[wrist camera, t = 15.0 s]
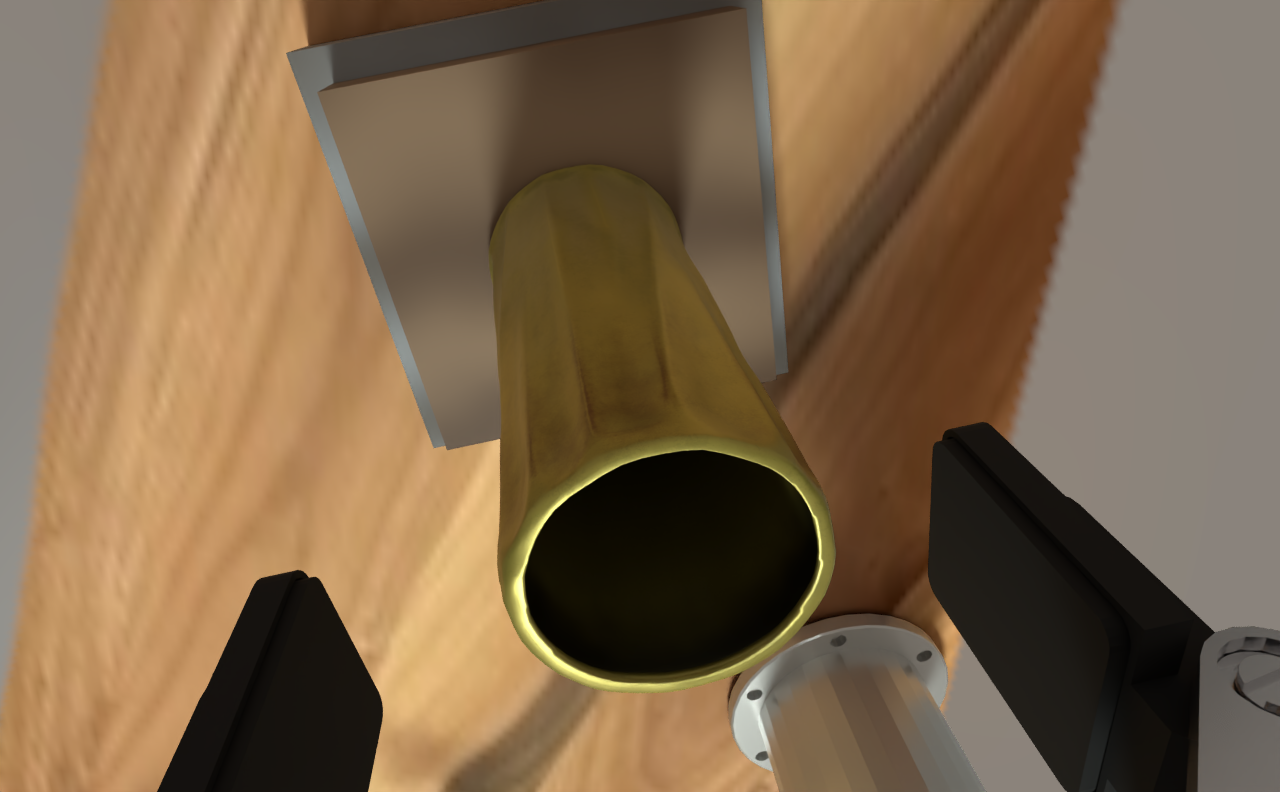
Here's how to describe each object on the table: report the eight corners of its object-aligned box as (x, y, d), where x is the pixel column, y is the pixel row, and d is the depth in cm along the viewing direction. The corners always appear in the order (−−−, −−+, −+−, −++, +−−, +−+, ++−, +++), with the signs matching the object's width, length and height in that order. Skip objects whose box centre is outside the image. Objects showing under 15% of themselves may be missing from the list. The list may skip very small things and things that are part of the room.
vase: (612, 119, 21) (752, 323, 9) (717, 279, 24) (926, 593, 12) (447, 241, 22) (376, 569, 10) (567, 380, 25) (623, 762, 13)
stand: (770, 344, 31) (805, 397, 27) (440, 414, 31) (427, 478, 27) (737, -38, 24) (778, -40, 20) (307, 46, 23) (265, 59, 20)
